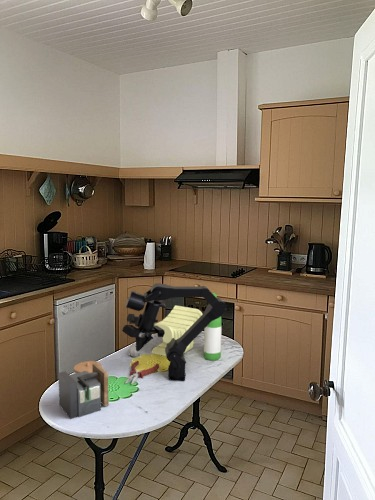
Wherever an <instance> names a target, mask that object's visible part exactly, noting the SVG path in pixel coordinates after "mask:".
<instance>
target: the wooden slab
mask: <svg viewBox="0 0 375 500" xmlns="http://www.w3.org/2000/svg"><path fill="white" fill-rule="evenodd" d="M92 371H93V373H89V374H85V375H81V376H77V379H78V380H79V381H80V382H81V383H82V384H84V385H85V386H86V387H87V400H89V384H88V383H87V382H86V381H84V380H83V379H86V378H90V377H94V378H95V379H96V380H98V381H99V382H100V389H101V405H103V407H106V406H109V372H108V371H107V370H105V369H104V367H103V366H102V367H101V366H99V365H98V364H97V363H94V364H92Z"/></svg>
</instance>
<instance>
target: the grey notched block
mask: <svg viewBox="0 0 375 500" xmlns="http://www.w3.org/2000/svg"><path fill="white" fill-rule="evenodd" d="M85 374H89V372H87V371H83V372H79V373H75V374H74V373H72V374H69V373H68V372H67V371H61V372H58V400H59V401H58V402H59V403H58V404H59V406H60V408H61V407H62V408H63V409H62V408H61V409H62V410H63V411H64V413H65V414H66V413H67V414H66V415H67V416H68V418H69V419H70V420H72V419H74V418H82V417H84V416H87V415H91V414H93V413H97V412H100V411H102V403H101V389H100V382H99V381H98V380H96V379H95V378H94V377H90V378H86V379H83V380H84V381H86V382H87V383H88V384H89V400H87V387H86V386H85V385H84V384H82V383H81V382H80V381H79V380H78V379H77V376H81V375H85Z"/></svg>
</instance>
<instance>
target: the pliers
mask: <svg viewBox="0 0 375 500" xmlns="http://www.w3.org/2000/svg"><path fill="white" fill-rule="evenodd" d="M139 365H140V360H136V361H135V362H133V363H132V364H131V371H130V372H129V377H128V378H127V379H126V381H125V382H124V385H126V384H128V383H130V382H131V384H130V385H133V384H134V383H135V382H137V380H138V379H144V377H146V376H149V375H151V374H154V373H156V372H158V370H159V369H160V364H159V363H155V365H154V366H152V367H149V368H147V369H143V370H140V371H138V372H137V370H136V367H138V366H139Z"/></svg>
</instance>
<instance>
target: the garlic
mask: <svg viewBox="0 0 375 500" xmlns="http://www.w3.org/2000/svg"><path fill="white" fill-rule="evenodd" d="M127 352H128V355H129V356H131V357H132V358H134V357H135V358H136V357H137V356H139V355H140V354H141V350H140V351H136V344H134V343H133V344H132V346H130V347H128V350H127Z"/></svg>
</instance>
